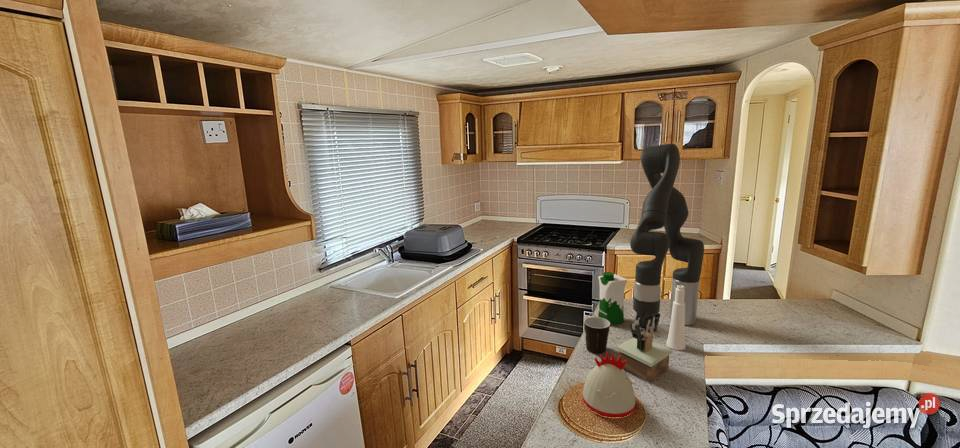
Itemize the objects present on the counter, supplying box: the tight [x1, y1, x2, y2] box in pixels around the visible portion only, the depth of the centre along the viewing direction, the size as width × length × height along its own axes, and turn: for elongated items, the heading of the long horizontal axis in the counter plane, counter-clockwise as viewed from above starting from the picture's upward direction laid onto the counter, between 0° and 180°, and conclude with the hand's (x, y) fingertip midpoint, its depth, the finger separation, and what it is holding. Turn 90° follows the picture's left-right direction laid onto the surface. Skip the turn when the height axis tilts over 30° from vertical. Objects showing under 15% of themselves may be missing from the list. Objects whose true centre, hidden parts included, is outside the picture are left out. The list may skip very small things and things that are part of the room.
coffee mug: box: [583, 316, 611, 355], centre depth 134 cm, size 12×9×10 cm
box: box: [616, 351, 670, 384], centre depth 124 cm, size 11×11×5 cm
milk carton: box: [597, 271, 628, 326], centre depth 155 cm, size 9×9×20 cm
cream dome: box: [581, 350, 636, 417], centre depth 107 cm, size 14×14×15 cm
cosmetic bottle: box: [665, 285, 687, 351], centre depth 134 cm, size 6×6×22 cm
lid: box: [616, 332, 673, 367], centre depth 122 cm, size 12×12×6 cm
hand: (643, 347), depth 123 cm, fingers closed on lid, 3 cm apart
